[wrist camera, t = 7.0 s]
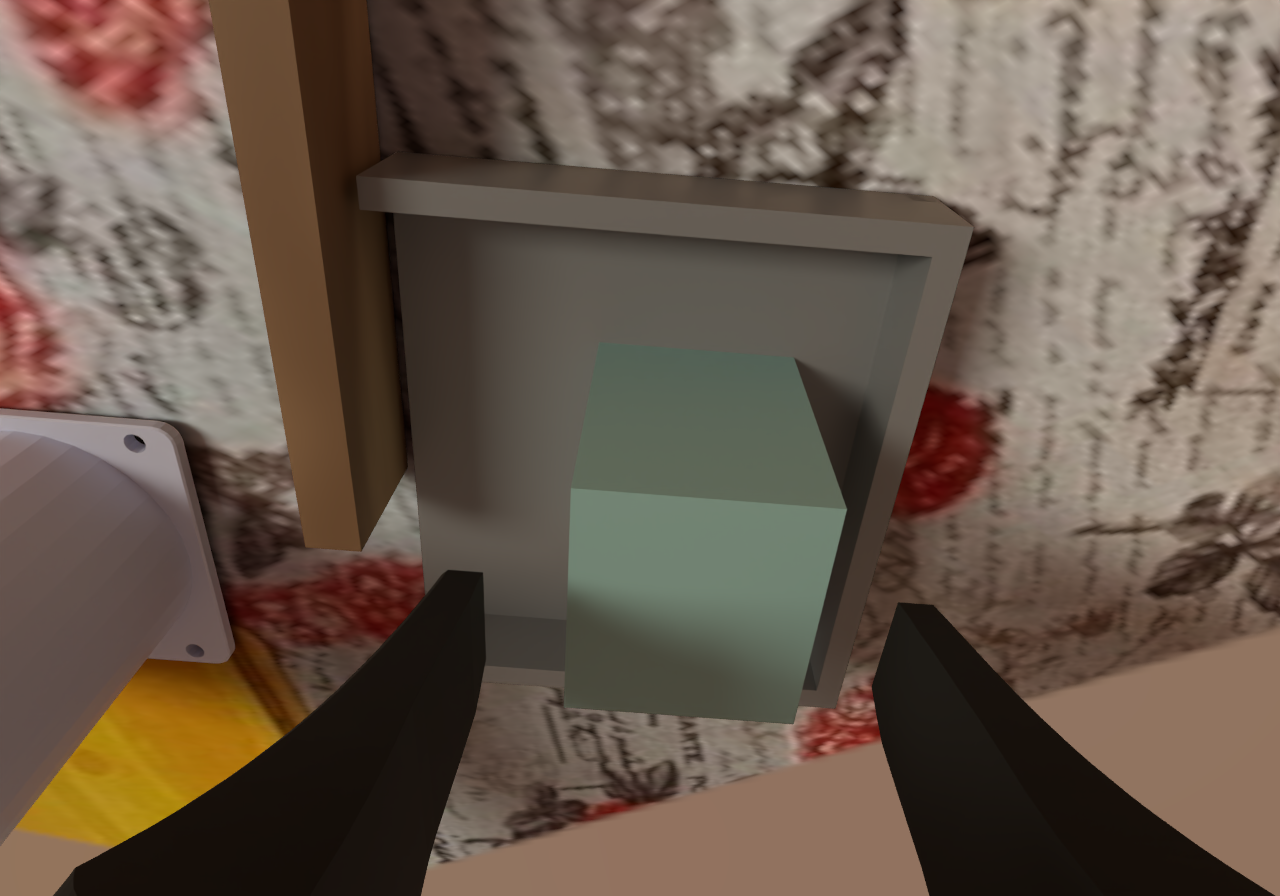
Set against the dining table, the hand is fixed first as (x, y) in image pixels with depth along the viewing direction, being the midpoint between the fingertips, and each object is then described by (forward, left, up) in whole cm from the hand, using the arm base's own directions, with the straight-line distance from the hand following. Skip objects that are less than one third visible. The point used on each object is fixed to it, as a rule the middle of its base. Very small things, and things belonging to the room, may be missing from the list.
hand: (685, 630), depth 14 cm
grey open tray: (-1, 0, -7) cm, 7 cm away
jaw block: (0, 0, -6) cm, 6 cm away
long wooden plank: (-7, +7, -6) cm, 12 cm away
